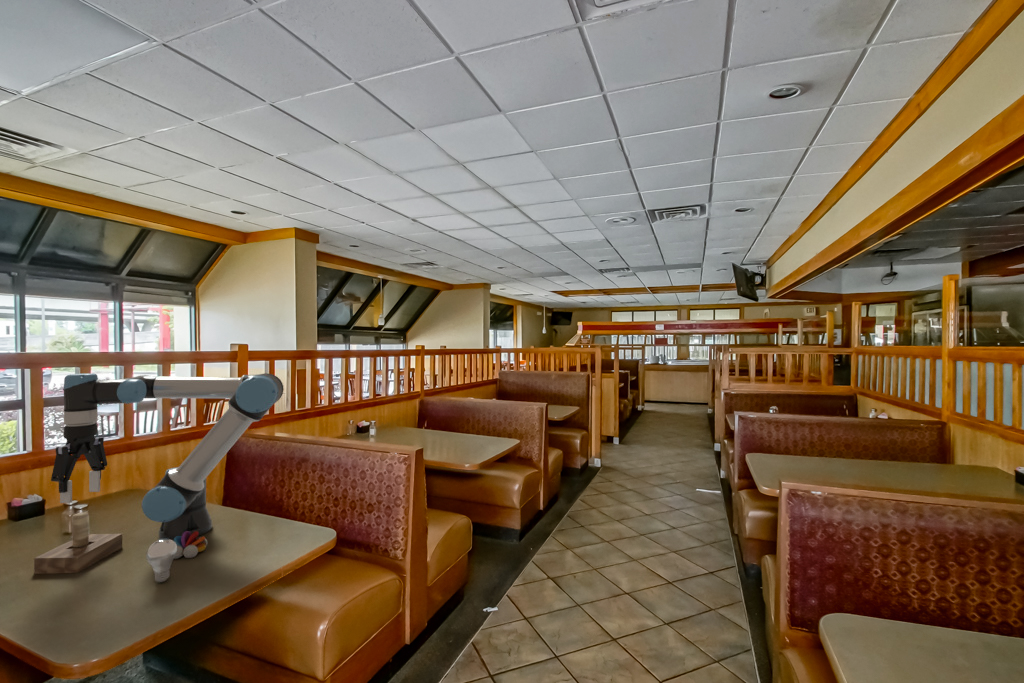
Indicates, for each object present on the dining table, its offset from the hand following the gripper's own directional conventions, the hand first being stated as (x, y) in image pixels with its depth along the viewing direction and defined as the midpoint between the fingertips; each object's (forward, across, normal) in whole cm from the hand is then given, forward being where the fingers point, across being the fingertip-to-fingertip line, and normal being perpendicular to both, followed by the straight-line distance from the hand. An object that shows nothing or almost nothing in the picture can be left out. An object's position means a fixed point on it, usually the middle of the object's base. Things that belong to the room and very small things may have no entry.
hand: (80, 496), depth 139 cm
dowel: (+19, 0, 0) cm, 19 cm away
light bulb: (+20, +14, +34) cm, 42 cm away
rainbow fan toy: (+20, -3, +30) cm, 36 cm away
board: (+19, 0, 0) cm, 19 cm away
